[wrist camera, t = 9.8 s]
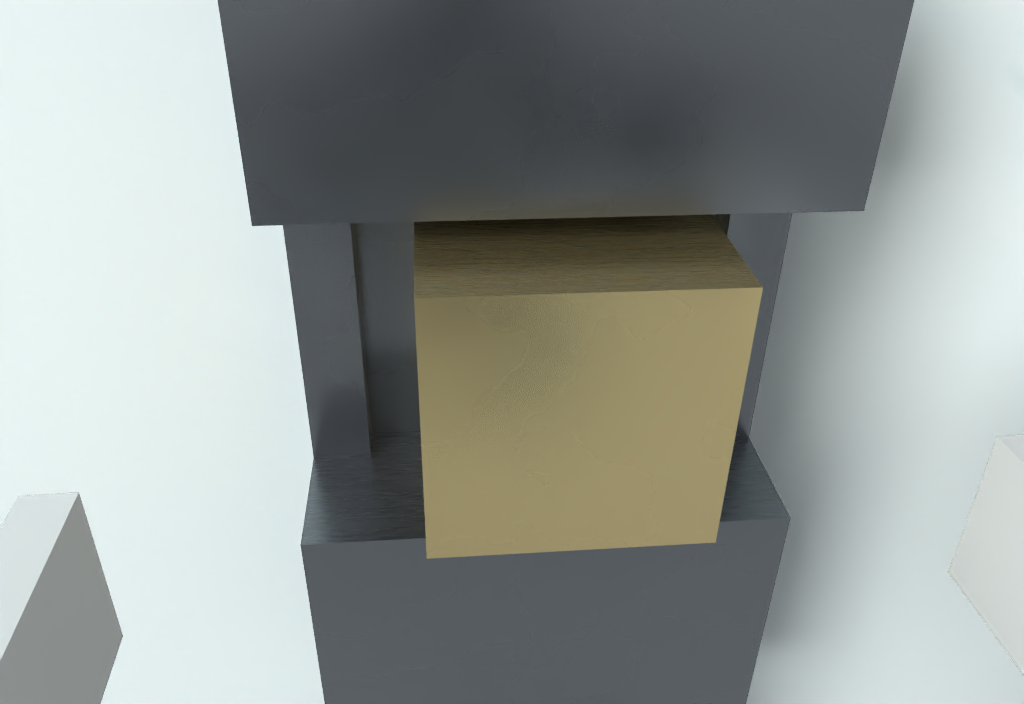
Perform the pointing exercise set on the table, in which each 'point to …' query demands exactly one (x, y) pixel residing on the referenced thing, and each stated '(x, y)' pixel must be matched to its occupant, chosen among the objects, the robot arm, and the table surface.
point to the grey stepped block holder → (532, 195)
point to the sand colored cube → (578, 380)
